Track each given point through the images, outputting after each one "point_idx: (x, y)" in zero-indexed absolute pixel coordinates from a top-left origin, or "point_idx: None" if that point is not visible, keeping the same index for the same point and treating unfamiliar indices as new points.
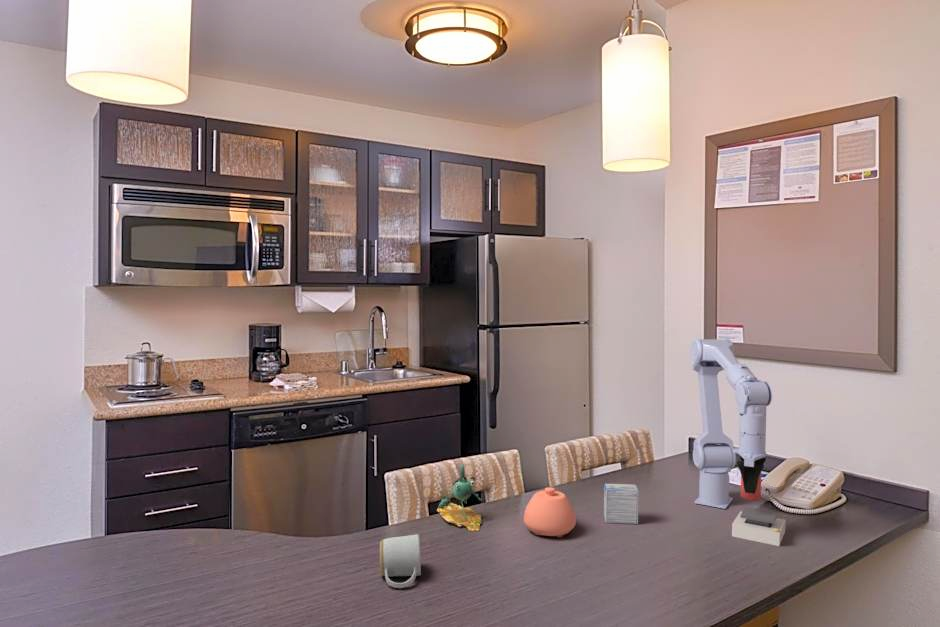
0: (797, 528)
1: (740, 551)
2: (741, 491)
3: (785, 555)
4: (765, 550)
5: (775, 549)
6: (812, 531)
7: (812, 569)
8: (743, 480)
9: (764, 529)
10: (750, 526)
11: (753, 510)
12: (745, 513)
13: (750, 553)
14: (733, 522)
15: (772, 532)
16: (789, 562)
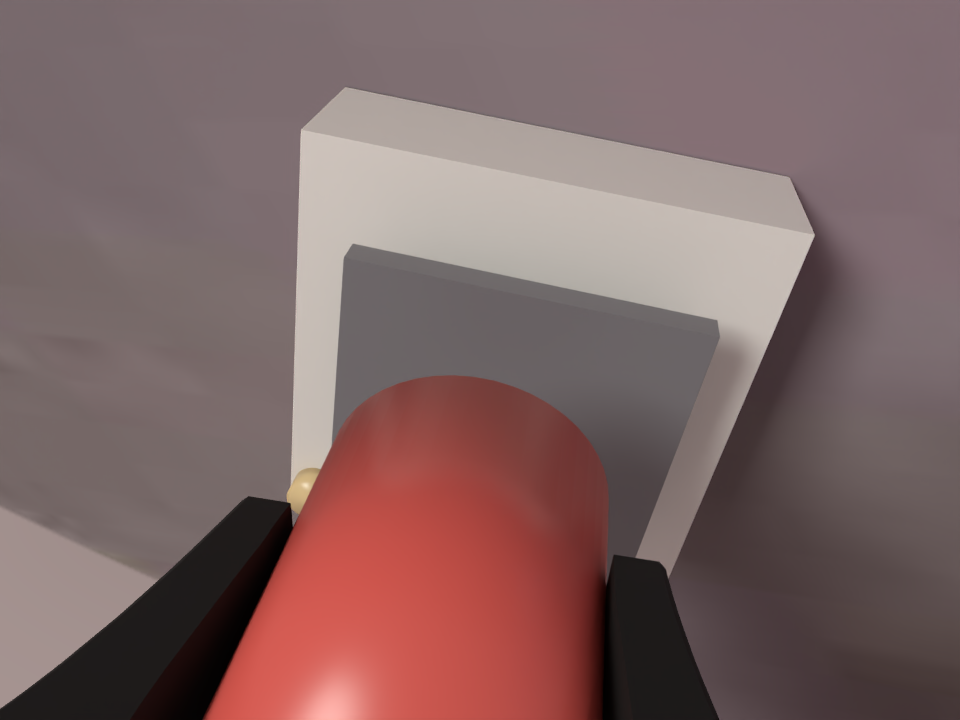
0: (783, 583)
1: (33, 156)
2: (374, 440)
3: (178, 441)
4: (184, 335)
5: (249, 398)
6: (745, 647)
7: (63, 534)
8: (80, 650)
9: (308, 408)
10: (321, 304)
11: (587, 399)
12: (429, 312)
13: (49, 229)
14: (349, 144)
15: (296, 453)
16: (76, 445)
